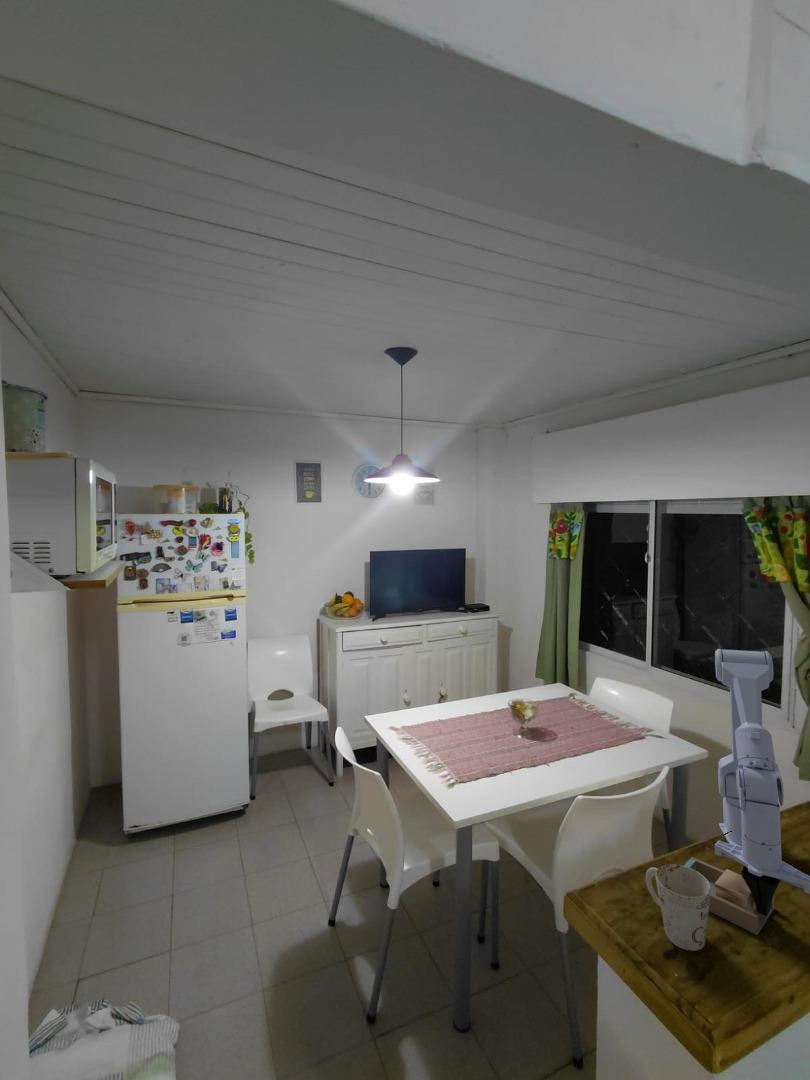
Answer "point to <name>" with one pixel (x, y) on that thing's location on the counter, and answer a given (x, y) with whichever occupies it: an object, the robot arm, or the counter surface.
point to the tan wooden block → (735, 890)
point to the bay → (724, 907)
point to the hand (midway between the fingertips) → (763, 911)
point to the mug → (682, 904)
